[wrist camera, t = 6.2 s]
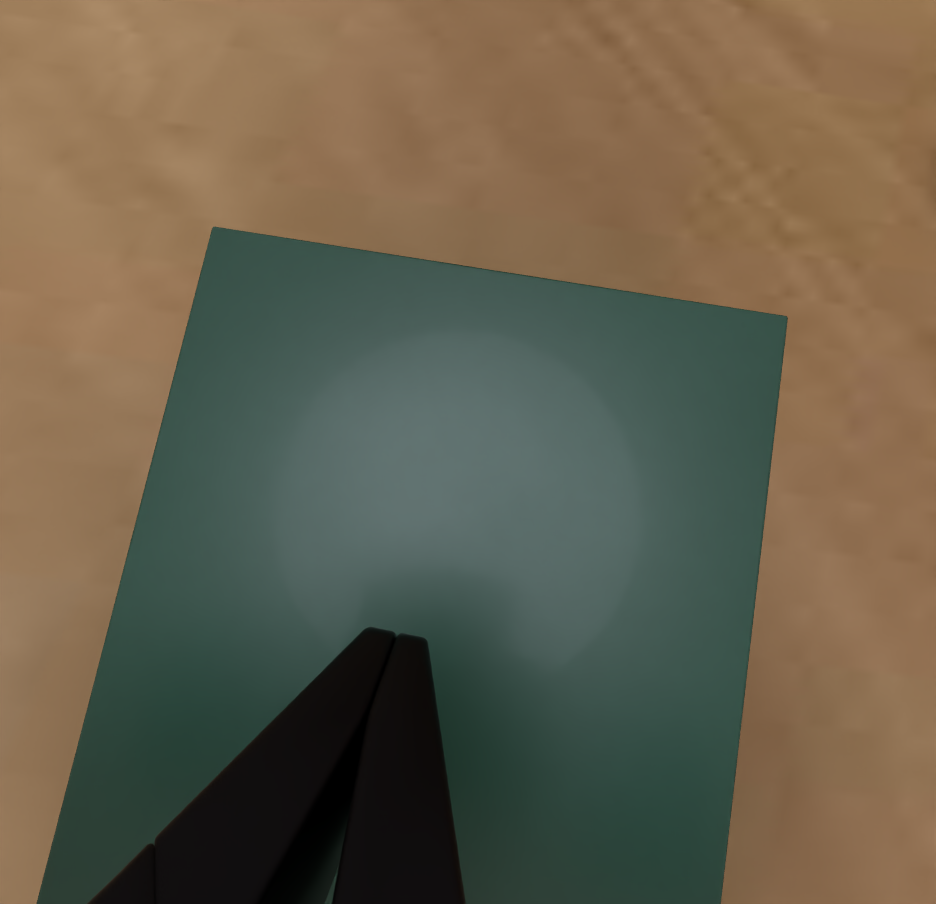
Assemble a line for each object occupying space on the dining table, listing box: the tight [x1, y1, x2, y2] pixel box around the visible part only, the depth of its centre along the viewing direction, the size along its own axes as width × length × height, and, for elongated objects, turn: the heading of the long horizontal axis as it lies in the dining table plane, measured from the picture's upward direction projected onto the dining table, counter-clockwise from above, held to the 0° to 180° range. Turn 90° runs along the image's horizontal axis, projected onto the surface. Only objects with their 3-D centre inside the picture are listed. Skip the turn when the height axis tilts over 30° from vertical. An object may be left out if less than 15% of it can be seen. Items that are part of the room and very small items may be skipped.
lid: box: [37, 227, 788, 904], centre depth 13 cm, size 15×13×1 cm
